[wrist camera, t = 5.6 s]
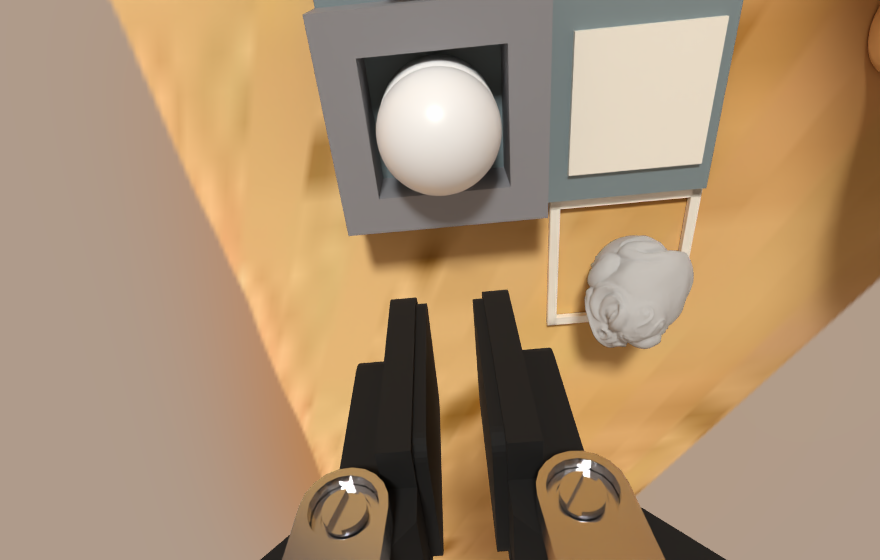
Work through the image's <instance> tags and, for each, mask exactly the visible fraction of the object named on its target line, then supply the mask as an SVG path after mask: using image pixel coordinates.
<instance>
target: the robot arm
mask: <svg viewBox="0 0 880 560" xmlns="http://www.w3.org/2000/svg"><path fill="white" fill-rule="evenodd" d="M473 312H474V326H475V341H476V355H477V370H478V384H479V397H480V407H481V416H482V425H483V433H484V442H485V450H486V459H487V468H488V476H489V485H490V494H491V502H492V511H493V520H494V528H495V537H496V545H497V552H499V551H508V552H509V559H510V560H726V559H724V558H722V557H721V556H719V555H718V554H716V553H714V552H713V551H711V550H710V549H708V548H706V547H704V546H703V545H701V544H700V543H698V542H697V541H695V540H693V539H692V538H690V537H688V536H687V535H685V534H684V533H682V532H680V531H679V530H677V529H675V528H674V527H672V526H671V525H669V524H667V523H666V522H664V521H662V520H661V519H659V518H658V517H656V516H654V515H653V514H651V513H649V512H648V511H646V510H645V509H643V508H641V507H640V505H639V503H638V501H637V499H636V497H635V494H634V492H633V490H632V488H631V486H630V484H629V482H628V480H627V479H626V477H625V476H624V474H623V473H622V471H621V470H620V469H619V468H618V467H616V466H615V465H614V464H613V463H612V462H611V461H609V460H607V459H605V458H603V457H601V456H599V455H597V454H594V453H590V452H586V451H584V449H583V446H582V443H581V440H580V437H579V433H578V430H577V427H576V424H575V421H574V417H573V414H572V411H571V408H570V405H569V401H568V398H567V395H566V392H565V389H564V385H563V382H562V379H561V376H560V372H559V369H558V366H557V363H556V360H555V356H554V354H553V351H552V349H551V348H541V349H529V350H522V347H521V343H520V339H519V335H518V330H517V326H516V322H515V318H514V313H513V309H512V305H511V301H510V296H509V292H508V290H498V291H486V292H482V299H473ZM443 551H444V549H443V510H442V473H441V437H440V405H439V394H438V386H437V378H436V370H435V362H434V354H433V346H432V339H431V331H430V323H429V315H428V307H427V303H426V304H418V302H417V298H405V299H394V300H391V301H390V309H389V319H388V328H387V338H386V348H385V357H384V362H372V363H360V364H359V365H358V366H357V370H356V375H355V381H354V387H353V393H352V399H351V405H350V411H349V417H348V423H347V429H346V435H345V441H344V447H343V453H342V459H341V465H340V469H339V470H336V471H334V472H331V473H329V474H326V475H325V476H323V477H322V478H321V479H319V480H318V481H316V482H315V483H314V484H313V485H312V486H311V487H310V489H309V490H308V491H307V492H306V493H305V495H304V497H303V499H302V501H301V503H300V505H299V508H298V511H297V514H296V517H295V520H294V524H293V527H292V530H291V533H290V535H289V536H288V537H287V538H285V539H284V540H283V541H282V542H281V543H280V544H278V545H277V546H276V547H275V548H274V549H273V550H271V551H270V552H269V553H268V554H267V555H266V556H264V557H263V558H262V559H261V560H433V556H443Z"/></svg>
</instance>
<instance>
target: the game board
mask: <svg viewBox="0 0 880 560" xmlns="http://www.w3.org/2000/svg"><path fill="white" fill-rule="evenodd" d="M313 1H314V6H315V8H314V9H312V10H311V11H309V12H307V13H305V14H303V19H304V24H305V29H306V34H307V39H308V43H309V48H310V53H311V58H312V62H313V67H314V72H315V77H316V82H317V86H318V91H319V96H320V101H321V106H322V110H323V115H324V120H325V125H326V130H327V134H328V139H329V144H330V149H331V154H332V158H333V163H334V168H335V173H336V178H337V182H338V187H339V192H340V197H341V202H342V206H343V211H344V216H345V221H346V225H347V230H348V235H349V236H354V235H365V234H376V233H387V232H398V231H409V230H420V229H431V228H442V227H453V226H464V225H475V224H486V223H497V222H508V221H519V220H530V219H540V218H548V203H549V240H548V281H547V321H546V322H547V325H560V324H571V323H583V322H589V321H588V317H587V314H586V312H581V313H569V314H557V315H556V312H557V285H558V258H559V231H560V209H569V208H579V207H590V206H601V205H612V204H623V203H634V202H645V201H656V200H667V199H677V198H688V199H687V205H686V211H685V216H684V222H683V227H682V233H681V238H680V244H679V250H678V251H681V252H685V253H687V255H688V257H689V256H690V251H691V245H692V240H693V235H694V230H695V225H696V220H697V214H698V209H699V204H700V199H701V194H702V189H703V188H706V187H707V182H708V176H709V171H710V166H711V161H712V156H713V151H714V146H715V141H716V136H717V131H718V126H719V121H720V116H721V111H722V105H723V100H724V95H725V90H726V85H727V80H728V75H729V70H730V65H731V60H732V55H733V50H734V45H735V40H736V35H737V29H738V24H739V19H740V14H741V9H742V4H743V0H313ZM428 55H448V56H452V57H456V58H458V59H461V60H463V61H465V62H467V63H468V64H470V65H471V66H472V67H474V68H475V69H476V70H477V71H478V72H479V73H480V74H481V75H482V77H483V78H484V79H485V81H486V83H487V84H488V86H489V88H490V90H491V93H492V95H493V97H494V99H495V101H496V104H497V107H498V109H499V113H500V117H501V124H502V138H501V144H500V148H499V151H498V154H497V157H496V159H495V161H494V163H493V165H492V166H491V168H490V169H489V171H488V172H487V173H486V174H485V176H484V177H482V178H481V179H480V180H479V181H478V182H477V183H476V184H474V185H473V186H471V187H470V188H468V189H466V190H464V191H462V192H459V193H456V194H452V195H446V196H432V195H426V194H422V193H419V192H416V191H414V190H412V189H410V188H408V187H407V186H405V185H404V184H402V183H401V182H400V181H399V180H397V179H396V178H395V177H394V176H393V175H392V173H391V172H390V171H389V170H388V168H387V167H386V165H385V163H384V161H383V159H382V157H381V155H380V152H379V149H378V145H377V139H376V121H377V116H378V112H379V108H380V105H381V102H382V98H383V95H384V92H385V89H386V87H387V85H388V83H389V82H390V80H391V79H392V77H393V76H394V75H395V74H396V73H397V71H399V70H400V69H401V68H402V67H403V66H404V65H406V64H407V63H409V62H411V61H413V60H415V59H417V58H420V57H423V56H428Z"/></svg>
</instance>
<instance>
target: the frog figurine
mask: <svg viewBox="0 0 880 560" xmlns="http://www.w3.org/2000/svg"><path fill="white" fill-rule="evenodd" d="M591 267H592V269H591V270H590V272H589V275H588V279H587V281H588V284H589V286H590V288H589V289H587V290H586V296H585V310H586V314H587V317H588V321H589V324H590V327H591V330H592V333H593V335H594V337H595V338H596V340H597V341H598V342H599V343H601V344H602V345H604V346H606V347H617V346H621V347H626V345H627V343H629V344H631V345H633V346H634V347H637V348H641V349H647V348H651V347H653V346H655V345H657V344H658V343H660V342H661V335H663V333H665V330H666V329H668V326H669V325H671V324H672V323H673V322H674V321H675V320H676V319H677V318H678V317H679V315H680V314H681V312H682V310H683V307H684V303H685V301H686V298H687V296H688V294H689V292H690V290H691V287H692V284H693V274H694V273H693V267H692V263H691V260H690V258H689V257H688V255H687V253H685V252H681V251H673V250H669V251H668V250H667V249H666V248H665V247H664V246H663V244H661V243H660V242H658V241H657V240H655V239H653V238H651V237H648V236H625V237H621V238H618V239H616V240H614V241H612V242H610V243H609V244H607V245H606V246H605V247H604V248H603V249H602V250H601V251H600V252H599V253H598V255H597V256H596V257H595V260H594V263H592V264H591Z"/></svg>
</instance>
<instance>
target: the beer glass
mask: <svg viewBox="0 0 880 560" xmlns="http://www.w3.org/2000/svg"><path fill="white" fill-rule="evenodd" d="M868 54H869V58H870V60H871V63H872V65H873V66H874V68H875V69H876V70H877V71H878V72H879V73H880V6H879V8H878V10H877V12H876V14H875V16H874V19H873V21H872V24H871V27H870V31H869V36H868Z"/></svg>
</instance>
